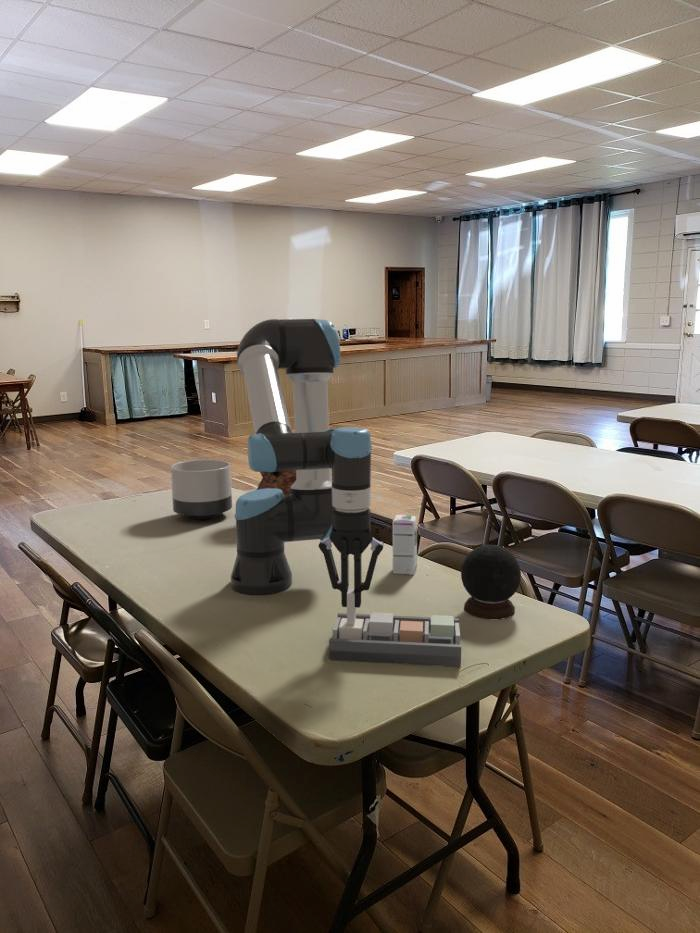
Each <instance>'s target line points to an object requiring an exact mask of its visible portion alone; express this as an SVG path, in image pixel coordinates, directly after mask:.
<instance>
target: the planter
mask: <svg viewBox="0 0 700 933" xmlns="http://www.w3.org/2000/svg"><path fill="white" fill-rule="evenodd" d="M231 472H232V467H231V463H230V462H228V461H225V460H220V459H193V460H185V461H179V462H176V463H174V464H172V465H171V466H170V475H171V476H170V477H171V478H170V479H171V496H172V511H173V512H174V513H175V514H178V515H182V516H184V517H185V518H188V519H191V520H194V521H206V520H208V521H209V520H213V519H215V518H217V517H219V516H221V515H222V514H223V513H226V512H228V511H230V510H231V509H232V508H233V498H232V497H233V495H232V494H233V492H232V490H233V489H232V473H231Z"/></svg>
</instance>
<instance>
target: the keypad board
mask: <svg viewBox="0 0 700 933" xmlns="http://www.w3.org/2000/svg"><path fill="white" fill-rule="evenodd" d="M370 616H371V614H367V613H366V614H365V613H364V614H362V613H356V619H364V629H363V636H362V640H355V639H339V626H340V622H341V619H342V618H347V613H346V612H345V613H341V612H340V613H339V612H338V613H337V616H336V618H335V621H334V625H333V628H332V638H329V645H328V647H329V648H328V649H329V651H328V652H329V653H328V654H329V657H328V658H329V661H343V662H363V663H381V664H384V663H385V664H400V665H417V666H419V665H421V666H436V665H437V666H438V665H442V666H443V667H456V666H461V667H462V644H461V630H460V619H459V618H457V617H456V618H454V637H440V636H431V616H410V615H407V616H406V615H393V631H392V634H376V633H369V621H370ZM401 621H419V622H423V643H417V642H400V623H401Z"/></svg>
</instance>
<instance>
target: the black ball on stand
mask: <svg viewBox="0 0 700 933" xmlns="http://www.w3.org/2000/svg"><path fill="white" fill-rule="evenodd" d="M460 576H461V577H460V578H461V579H460V580H461V582H462V585H463V587H464V589H465V591H466V592H467V593H468V595H469V596H470V597H468V598H467V600H466V601H465V603H464V604H463V605H464V606H463V607H464V609H463V610H464V611H465V612H466V613H467V614H468V615H471V616H472V617H475V618H478V619H483V620H489V619H498V620H504V619H503V618H505V619H509V618H511V617H512V616H514V615H515V610H516V607H515V605H514V604H513V602H512V601H511V600H510V599H511V598H512V597H513V596H514V595H515V593H516V592H517V590H518V589H519V587H520V585H521V579H522V571H521V567H520V563H519V562H518V560H517V558H516V557H515V555H514V554H513V553H512V552H510V550H508V549H507V548H505V547H503V546H500V545H496V544H483V545H481V546H477V547H475V548H474V549H472V550H471V551H470V552H469V553H468V554H467V555H466V557H465V558H464V560H463V562H462V565H461V570H460ZM510 616H511V617H510ZM508 617H509V618H508Z"/></svg>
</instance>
